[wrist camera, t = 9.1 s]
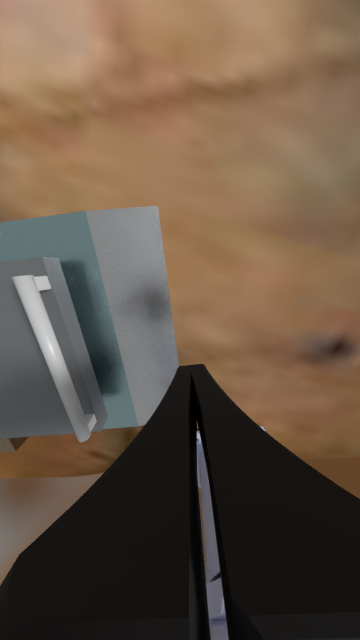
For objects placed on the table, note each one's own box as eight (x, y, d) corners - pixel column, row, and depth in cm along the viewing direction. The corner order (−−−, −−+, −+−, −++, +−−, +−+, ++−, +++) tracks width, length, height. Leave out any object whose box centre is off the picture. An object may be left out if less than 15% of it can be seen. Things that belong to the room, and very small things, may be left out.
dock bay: (185, 411, 19) (185, 438, 16) (28, 424, 20) (1, 452, 17) (158, 208, 13) (152, 191, 10) (-67, 238, 14) (-136, 230, 11)
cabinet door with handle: (113, 404, 17) (91, 451, 13) (28, 412, 17) (-21, 459, 13) (71, 258, 13) (16, 254, 8) (-41, 272, 13) (-148, 275, 9)
